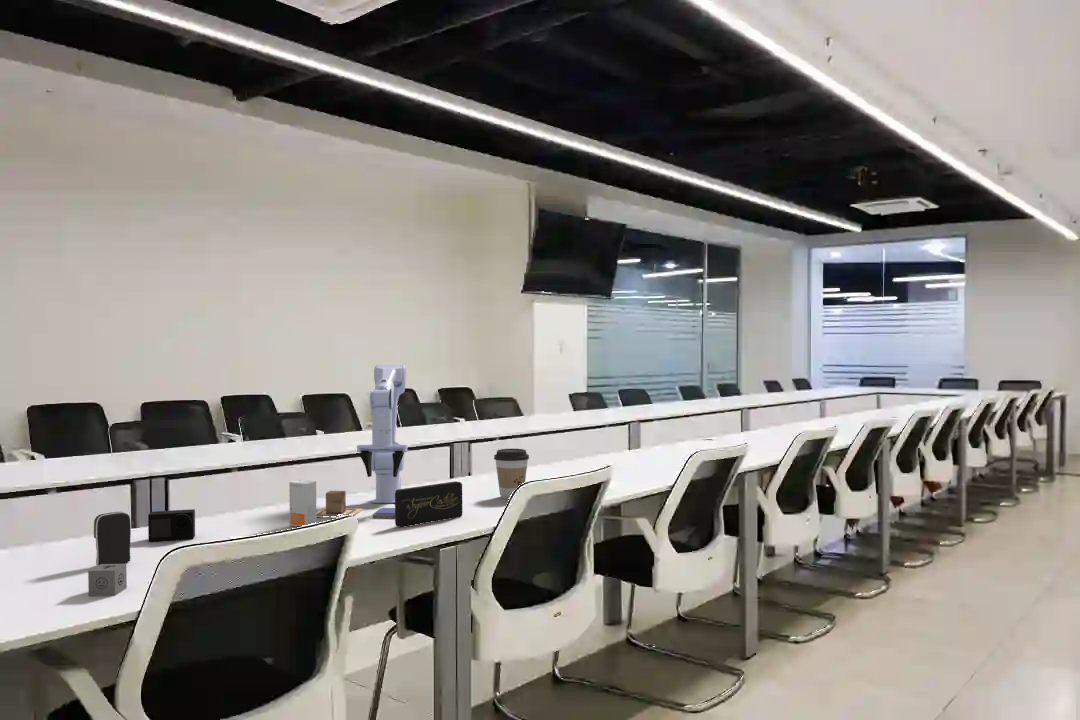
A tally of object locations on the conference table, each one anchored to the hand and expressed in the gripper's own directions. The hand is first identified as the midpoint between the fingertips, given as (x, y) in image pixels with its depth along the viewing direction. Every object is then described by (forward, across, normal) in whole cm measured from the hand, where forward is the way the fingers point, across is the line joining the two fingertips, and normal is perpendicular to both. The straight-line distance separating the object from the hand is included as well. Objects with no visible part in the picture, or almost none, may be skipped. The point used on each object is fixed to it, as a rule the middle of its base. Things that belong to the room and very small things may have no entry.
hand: (382, 476), depth 241 cm
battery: (+10, -45, -62) cm, 77 cm away
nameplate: (+10, +17, -15) cm, 25 cm away
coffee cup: (+10, +36, +22) cm, 43 cm away
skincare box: (+10, -16, -22) cm, 29 cm away
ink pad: (+10, +4, -7) cm, 13 cm away
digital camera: (+10, -44, -39) cm, 59 cm away
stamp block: (+10, -12, -6) cm, 17 cm away
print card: (+10, -12, -6) cm, 17 cm away
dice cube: (+10, -34, -82) cm, 90 cm away
